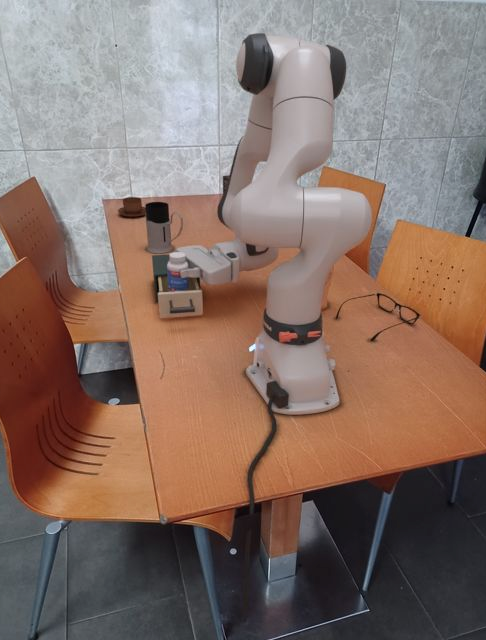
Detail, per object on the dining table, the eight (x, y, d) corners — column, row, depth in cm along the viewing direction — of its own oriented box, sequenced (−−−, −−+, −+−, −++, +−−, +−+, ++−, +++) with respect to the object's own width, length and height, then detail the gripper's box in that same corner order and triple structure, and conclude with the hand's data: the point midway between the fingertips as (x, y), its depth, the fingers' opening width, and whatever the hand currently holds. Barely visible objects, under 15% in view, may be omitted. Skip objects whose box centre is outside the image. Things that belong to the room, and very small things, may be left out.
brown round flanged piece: (117, 211, 207) (115, 196, 204) (146, 209, 211) (145, 194, 207) (119, 220, 198) (118, 204, 194) (150, 218, 201) (149, 202, 198)
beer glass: (328, 311, 133) (334, 258, 125) (302, 309, 134) (307, 256, 126) (330, 300, 139) (336, 249, 131) (305, 298, 140) (309, 246, 132)
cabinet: (200, 299, 138) (199, 272, 134) (155, 302, 136) (153, 274, 131) (195, 279, 150) (194, 253, 145) (154, 281, 148) (151, 255, 143)
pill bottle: (169, 295, 127) (167, 259, 122) (167, 287, 131) (164, 251, 126) (191, 293, 128) (189, 257, 123) (187, 285, 133) (185, 250, 128)
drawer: (205, 326, 123) (205, 302, 120) (160, 329, 121) (158, 305, 118) (197, 293, 139) (196, 271, 136) (157, 295, 137) (155, 273, 134)
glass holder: (157, 242, 176) (154, 199, 168) (191, 250, 171) (189, 206, 163) (141, 250, 170) (137, 205, 162) (176, 258, 164) (173, 212, 156)
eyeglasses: (421, 328, 126) (424, 314, 124) (375, 344, 119) (378, 329, 117) (375, 303, 138) (377, 290, 136) (330, 316, 131) (332, 302, 129)
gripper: (204, 237, 138) (157, 245, 132) (241, 260, 124) (191, 271, 117) (205, 258, 142) (159, 267, 136) (241, 284, 127) (192, 295, 121)
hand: (174, 269), depth 126 cm, fingers closed on pill bottle, 5 cm apart
